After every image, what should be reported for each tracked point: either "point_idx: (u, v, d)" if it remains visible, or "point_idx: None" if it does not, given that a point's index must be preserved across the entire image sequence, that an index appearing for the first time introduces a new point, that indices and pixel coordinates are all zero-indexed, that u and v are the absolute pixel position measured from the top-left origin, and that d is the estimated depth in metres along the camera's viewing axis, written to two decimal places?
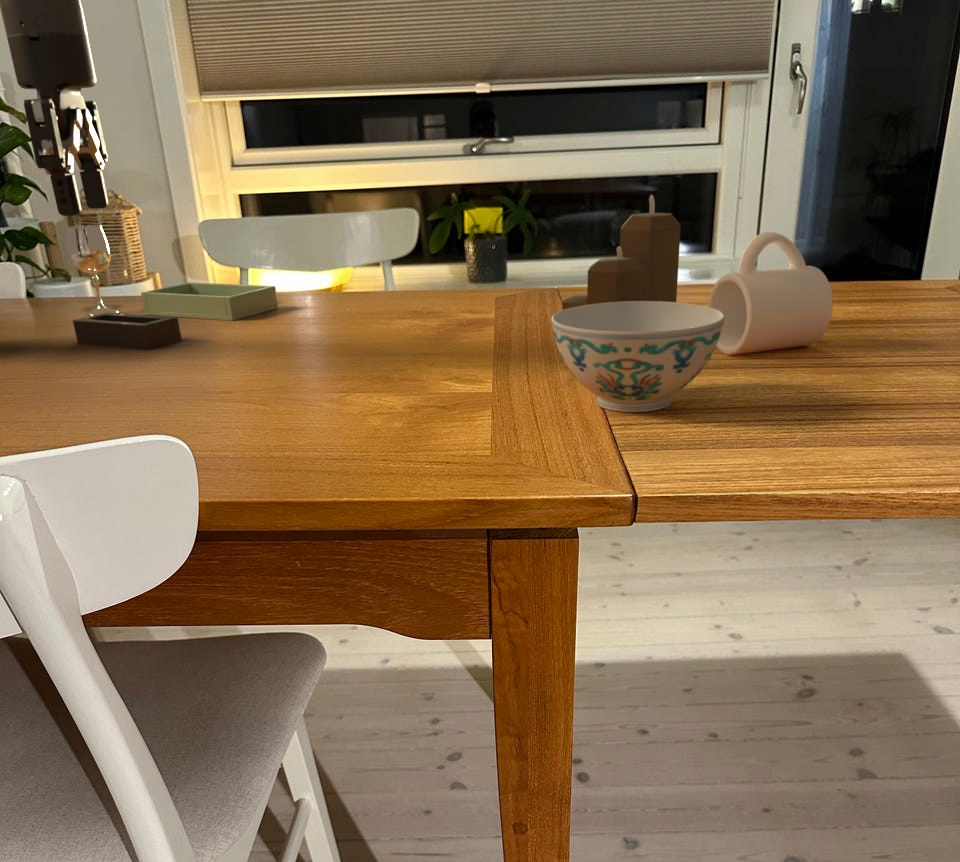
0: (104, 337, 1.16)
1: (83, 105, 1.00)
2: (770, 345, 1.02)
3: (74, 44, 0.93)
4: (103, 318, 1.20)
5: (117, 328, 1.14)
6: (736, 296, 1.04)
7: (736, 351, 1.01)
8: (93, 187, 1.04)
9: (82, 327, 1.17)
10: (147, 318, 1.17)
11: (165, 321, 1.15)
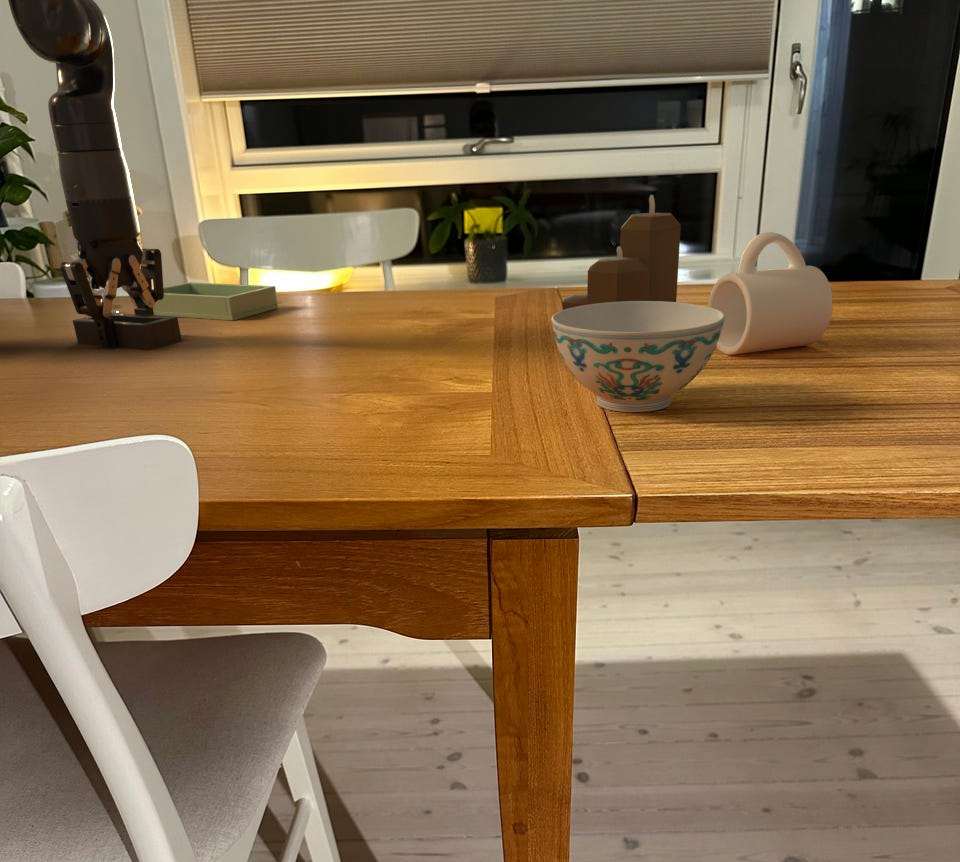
0: None
1: (137, 249, 1.15)
2: (770, 345, 1.02)
3: (108, 207, 1.08)
4: None
5: (117, 328, 1.14)
6: (736, 296, 1.04)
7: (736, 351, 1.01)
8: None
9: (82, 327, 1.17)
10: (147, 318, 1.17)
11: (165, 321, 1.15)
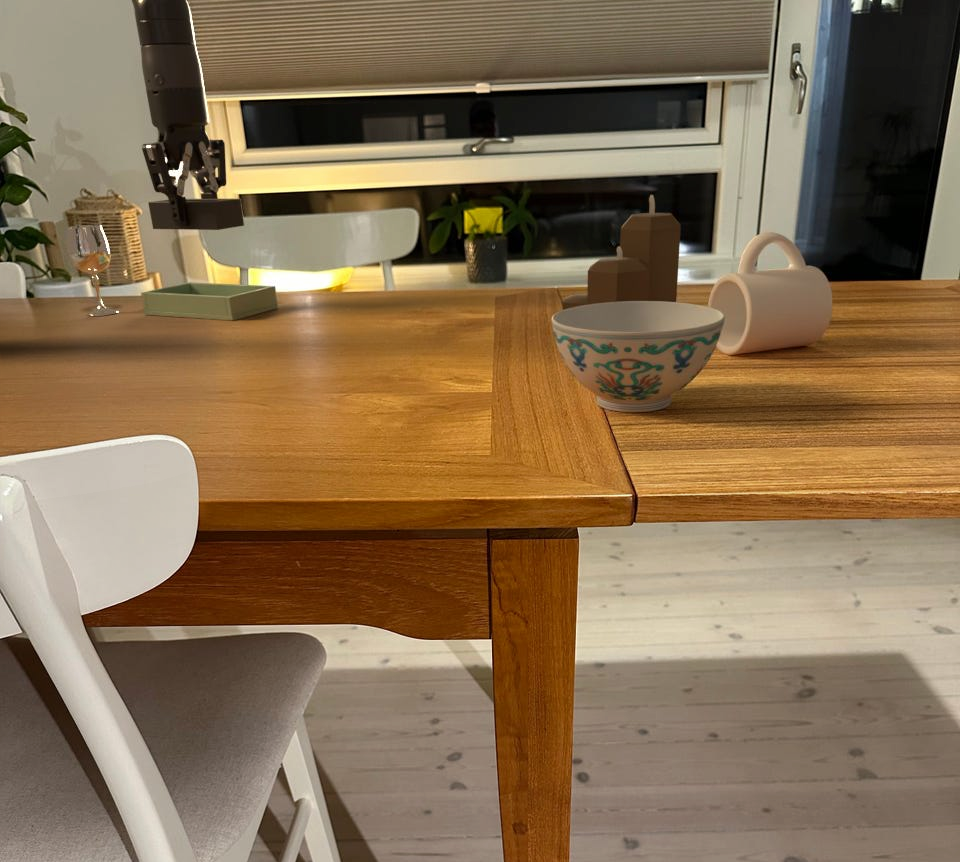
0: None
1: (205, 138, 1.32)
2: (770, 345, 1.02)
3: (183, 95, 1.24)
4: None
5: (189, 206, 1.31)
6: (736, 296, 1.04)
7: (736, 351, 1.01)
8: None
9: (156, 208, 1.33)
10: (213, 200, 1.34)
11: (230, 200, 1.31)
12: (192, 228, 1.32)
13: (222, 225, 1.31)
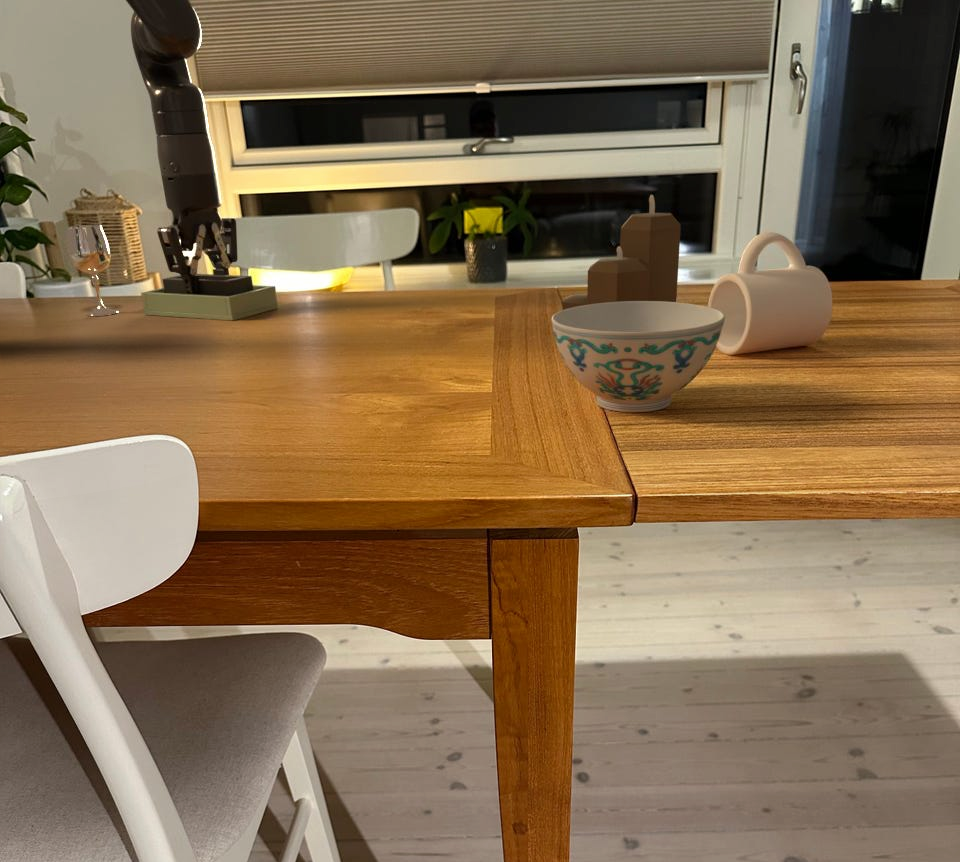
0: None
1: (217, 218, 1.37)
2: (770, 345, 1.02)
3: (197, 181, 1.29)
4: None
5: (202, 284, 1.36)
6: (736, 296, 1.04)
7: (736, 351, 1.01)
8: None
9: (170, 284, 1.38)
10: (225, 277, 1.39)
11: (242, 279, 1.36)
12: None
13: None
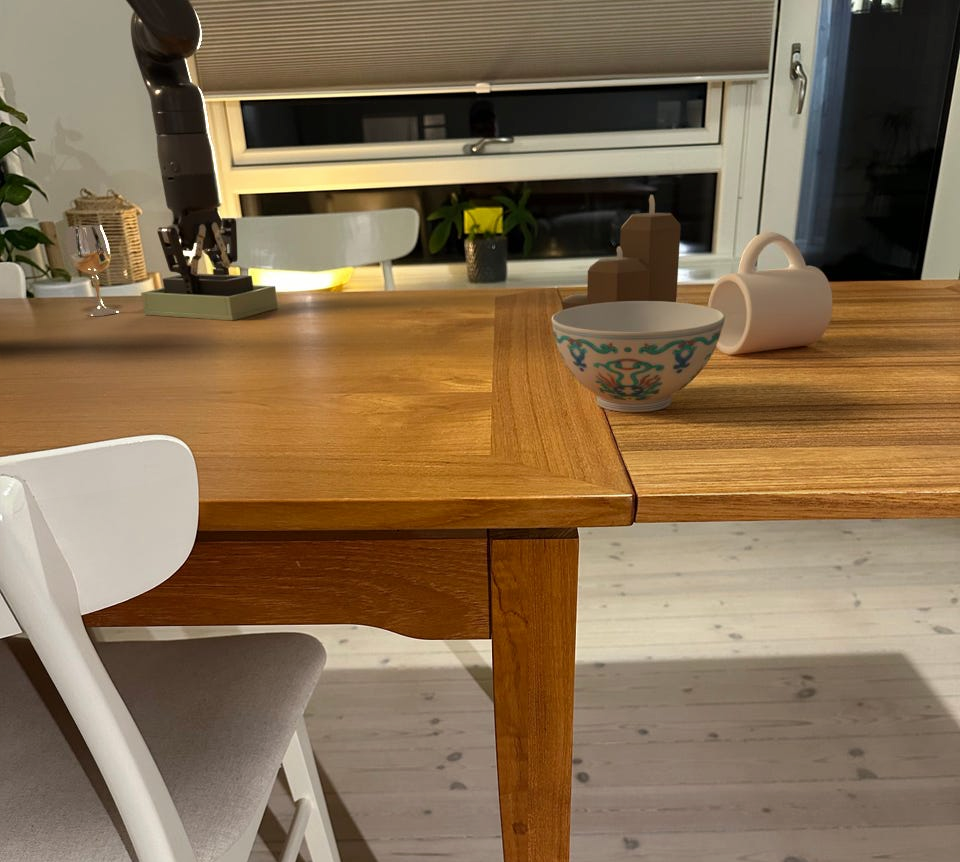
0: None
1: (217, 218, 1.37)
2: (770, 345, 1.02)
3: (197, 181, 1.29)
4: None
5: (202, 284, 1.36)
6: (736, 296, 1.04)
7: (736, 351, 1.01)
8: None
9: (171, 284, 1.38)
10: (225, 277, 1.39)
11: (242, 278, 1.36)
12: None
13: None
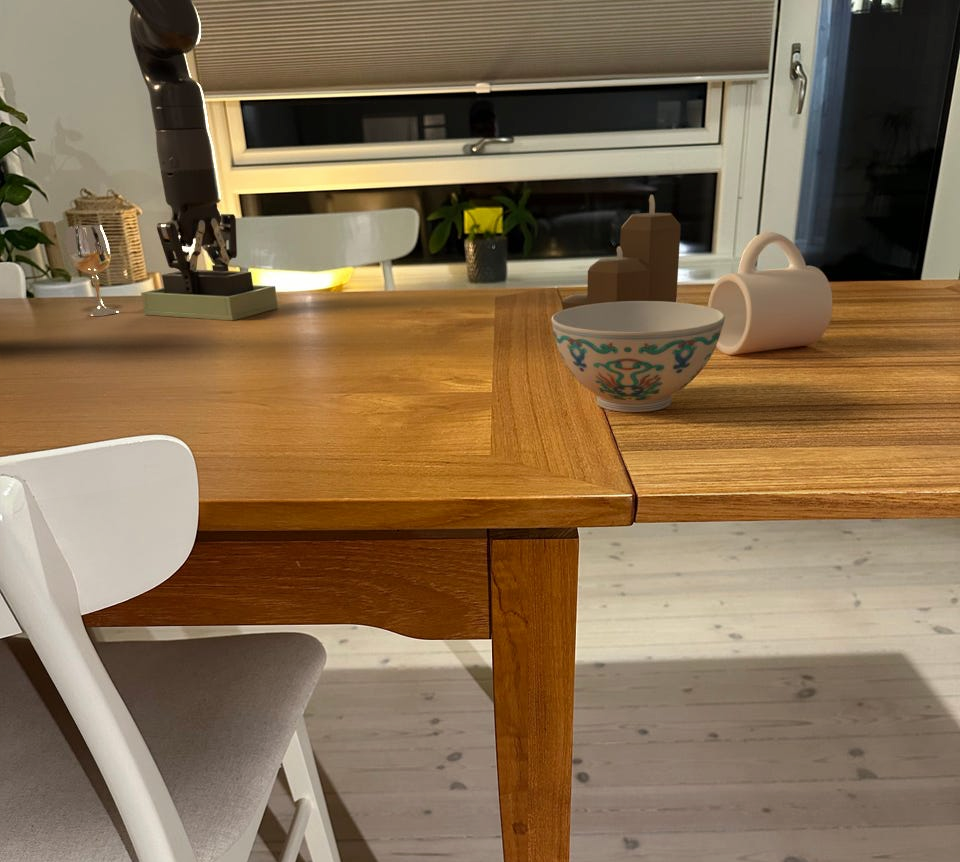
0: None
1: (217, 214, 1.36)
2: (770, 345, 1.02)
3: (197, 176, 1.29)
4: None
5: (201, 280, 1.35)
6: (736, 296, 1.04)
7: (736, 351, 1.01)
8: None
9: (170, 280, 1.38)
10: (225, 273, 1.38)
11: (241, 274, 1.36)
12: None
13: None
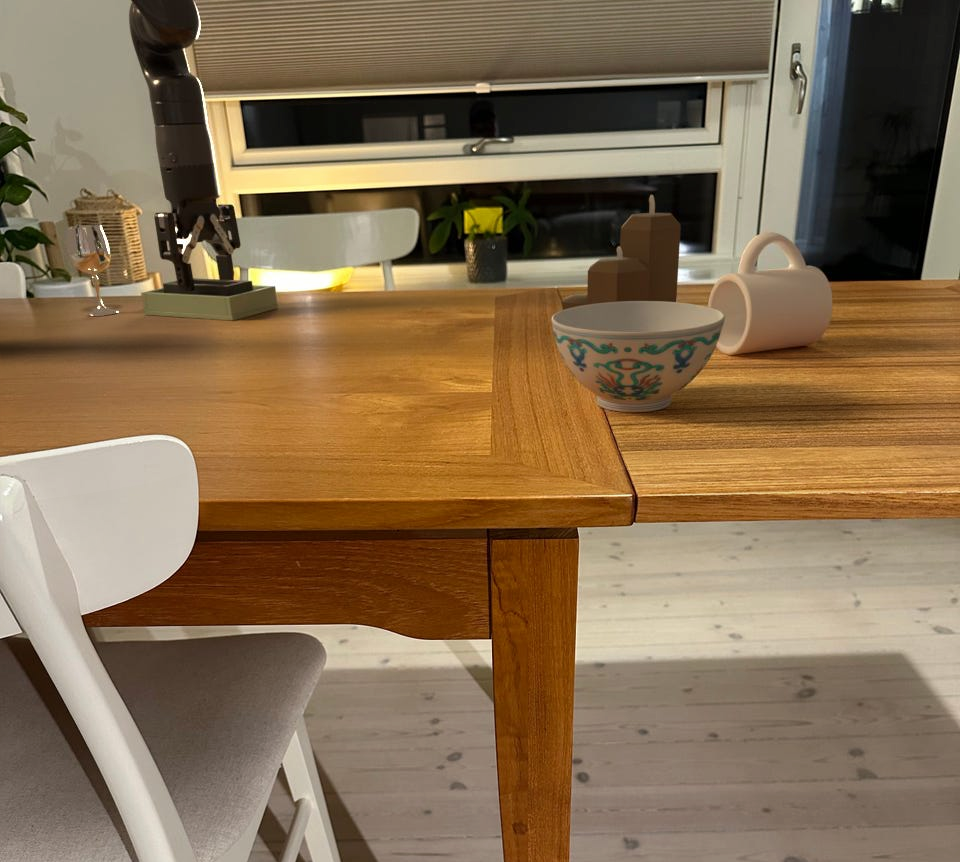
0: None
1: (215, 209, 1.36)
2: (770, 345, 1.02)
3: (196, 172, 1.29)
4: None
5: (202, 289, 1.36)
6: (736, 296, 1.04)
7: (736, 351, 1.01)
8: (223, 267, 1.41)
9: (171, 289, 1.39)
10: (226, 282, 1.39)
11: (242, 283, 1.37)
12: None
13: None
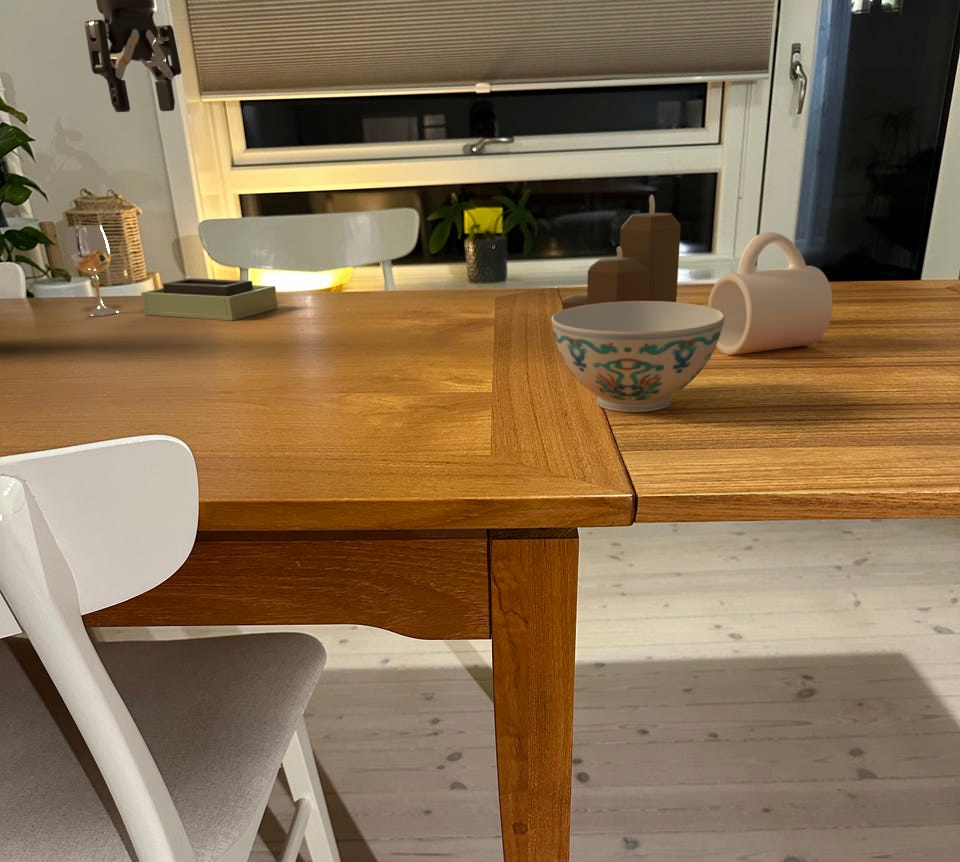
0: None
1: (152, 27, 1.30)
2: (770, 345, 1.02)
3: None
4: (187, 282, 1.41)
5: (202, 289, 1.36)
6: (736, 296, 1.04)
7: (736, 351, 1.01)
8: (163, 94, 1.35)
9: (171, 289, 1.39)
10: (226, 282, 1.39)
11: (242, 283, 1.37)
12: None
13: None
